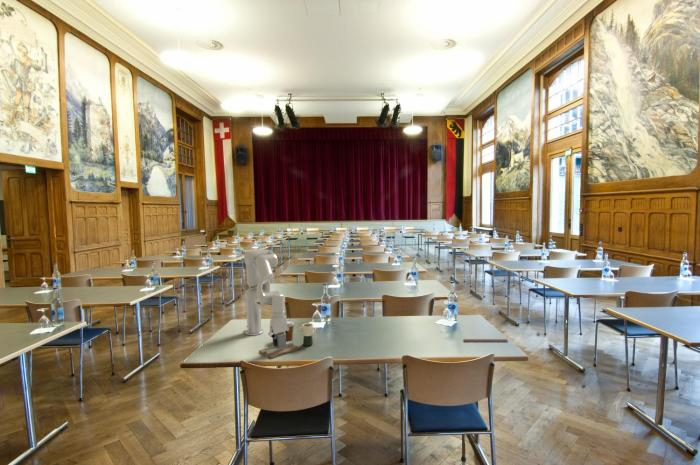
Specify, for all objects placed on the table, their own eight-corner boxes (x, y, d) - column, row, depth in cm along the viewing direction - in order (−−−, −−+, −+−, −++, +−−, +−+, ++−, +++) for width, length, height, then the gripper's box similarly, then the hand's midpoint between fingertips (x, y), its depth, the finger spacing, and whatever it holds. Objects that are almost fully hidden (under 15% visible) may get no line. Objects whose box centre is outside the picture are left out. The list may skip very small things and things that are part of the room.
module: (272, 345, 224) (272, 333, 223) (279, 343, 227) (279, 331, 226) (279, 348, 219) (278, 335, 218) (286, 346, 222) (285, 333, 221)
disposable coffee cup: (297, 338, 244) (296, 320, 243) (289, 343, 235) (289, 325, 234) (285, 336, 248) (284, 319, 247) (277, 341, 239) (276, 323, 238)
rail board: (259, 352, 221) (259, 347, 221) (286, 343, 235) (286, 338, 235) (271, 358, 211) (271, 353, 211) (299, 349, 225) (299, 344, 225)
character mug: (317, 343, 235) (317, 323, 234) (315, 347, 228) (314, 326, 227) (301, 342, 236) (300, 322, 235) (298, 346, 229) (297, 326, 228)
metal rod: (463, 341, 234) (463, 338, 234) (506, 341, 232) (506, 338, 232) (464, 342, 232) (464, 339, 232) (507, 342, 231) (507, 339, 230)
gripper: (286, 310, 230) (287, 338, 231) (262, 316, 218) (263, 345, 219) (293, 312, 225) (294, 341, 226) (269, 318, 213) (270, 348, 214)
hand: (279, 343), depth 223 cm, fingers closed on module, 5 cm apart
